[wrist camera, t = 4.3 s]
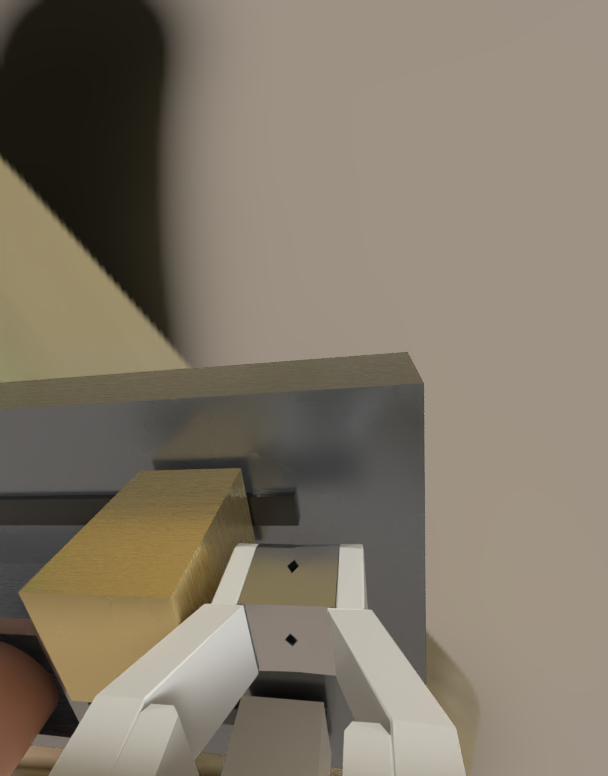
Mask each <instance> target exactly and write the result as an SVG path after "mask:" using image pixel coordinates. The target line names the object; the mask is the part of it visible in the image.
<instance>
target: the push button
mask: <svg viewBox="0 0 608 776" xmlns="http://www.w3.org/2000/svg"><path fill="white" fill-rule="evenodd" d="M58 700H59V693H58V689H57V687H56V684H55V682H54V681H53V679H52V677H51V676H50V675H49V673H48V672H47V671H46V670H45V669H44V668H43V667H42V666H41V665H40V664H39V663H38V662H37V661H36V660H34V659H33V658H32V657H31V656H29V655H28V654H26V653H25V652H23V651H21V650H19V649H18V648H16V647H14V646H12V645H10V644H7V643H5V642H2V641H0V776H11V774H12V773H13V771H14V770H15V768H16V767H17V765H18V764H19V762H20V761H21V759H22V758H23V756H24V755H25V753H26V752H27V750H28V749H29V747H30V746H31V744H32V743H33V741H34V740H35V738H36V737H37V735H38V734H39V732H40V731H41V729H42V728H43V726H44V725H45V723H46V722H47V720H48V719H49V717H50V716H51V714H52V713H53V711H54V710H55V708H56V707H57V704H58Z"/></svg>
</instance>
